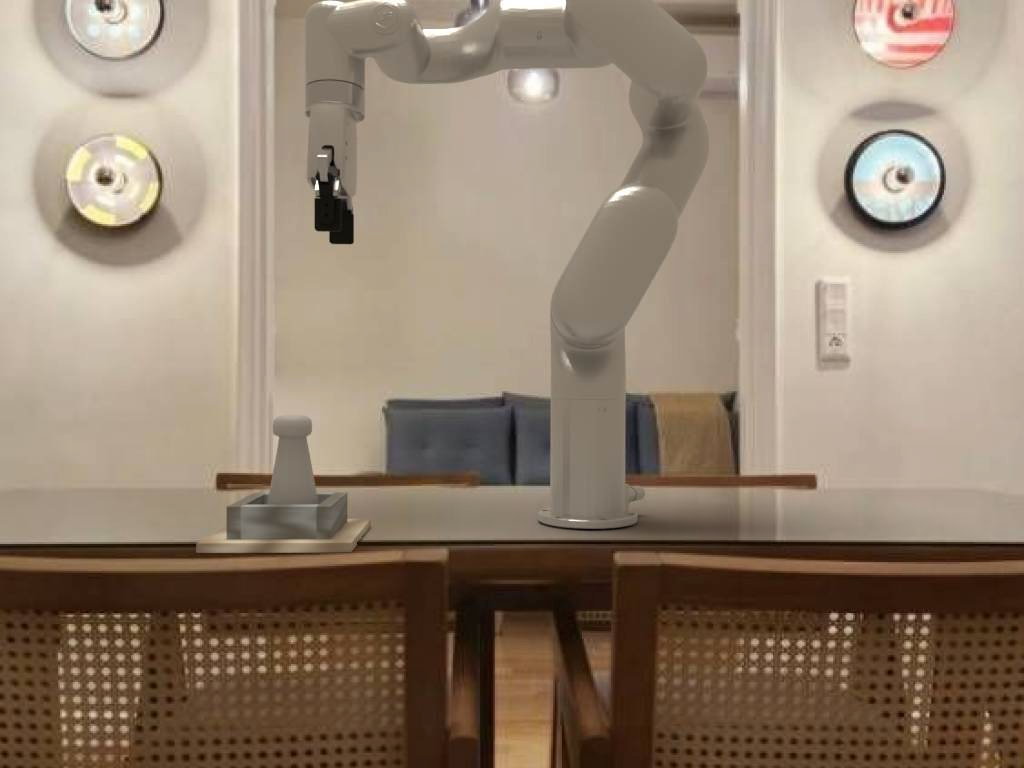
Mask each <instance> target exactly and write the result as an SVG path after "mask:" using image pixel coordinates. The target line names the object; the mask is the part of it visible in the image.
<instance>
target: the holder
mask: <svg viewBox="0 0 1024 768" xmlns="http://www.w3.org/2000/svg"><path fill="white" fill-rule="evenodd" d="M268 496H269V492H254V493H251V494H249V495H247V496H246V497H244V498H242V499H239V500H238V501H235V502H232V503H231V504H229V505H227V506H226V526H224V527H222V528H221V529H218V530H217V531H216V532H214V533H212V534H210V535H208V536H207V537H205V538H203V539H201V540H200V541H198V542H196V545H195V546H196V547H195V553H196V554H245V553H246V554H256V553H258V554H259V553H260V554H262V553H263V554H264V553H265V554H266V553H269V554H270V553H271V554H272V553H273V554H274V553H275V554H276V553H277V554H278V553H280V554H281V553H283V554H285V553H288V554H291V553H295V554H297V553H299V554H301V553H304V554H305V553H319V554H320V553H352V552H353V551H354V549H355V548H356V547H357V546H358V544H357V542H358V541H359V540H360V538H361V537H362V536H363V535H364V534H365V533H366V534H367V533H368V531H369V530H370V528H371V527H372V525H371V523H372V521H371V518H348V492H347V491H346V492H345V491H344V492H335V491H334V492H330V491H329V492H317V497H318V502H319V504H281V505H267V501H268ZM366 534H365V535H366ZM365 535H364V536H365ZM364 536H363V537H364ZM360 541H361V540H360ZM360 541H359V542H360Z"/></svg>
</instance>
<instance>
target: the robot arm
mask: <svg viewBox="0 0 1024 768" xmlns="http://www.w3.org/2000/svg"><path fill="white" fill-rule="evenodd" d="M304 31H305V39H304V42H305V43H304V44H305V46H304V48H305V49H304V51H305V52H304V53H305V57H304V60H305V61H304V62H305V64H304V65H305V70H304V71H305V72H304V73H305V74H304V75H305V78H304V79H305V90H304V91H305V92H304V95H305V102H304V104H305V108H304V111H305V116H306V117H307V118H308V119H309V123H308V135H307V139H308V140H307V158H306V159H307V160H306V161H307V162H306V182H307V183H308V185H309V186H310V187H311V188H312V190H313V191H314V195H315V197H314V225H313V226H314V230H315V231H316V232H325V233H326V232H327V233H328V232H329V235H328V236H329V237H328V240H329V241H328V242H329V243H330V244H331V245H354V243H355V214H354V206H353V204H354V203H353V197H355V196H356V193H357V179H358V174H357V173H358V149H357V148H358V146H357V144H358V143H357V142H358V138H357V137H358V136H357V135H358V134H357V124H358V123H361V122H363V121H364V120H365V118H366V116H365V115H366V112H365V111H366V109H365V108H366V107H365V106H366V104H365V103H366V101H365V100H366V98H365V97H366V96H365V95H366V78H365V77H366V59H367V58H372V59H373V60H374V62H375V64H376V65H377V67H378V68H379V70H380V71H381V72H382V74H384V75H385V76H386V77H387V78H389V79H391V80H393V81H395V82H398V83H403V84H408V85H410V84H411V85H427V84H428V85H440V84H442V85H443V84H456V83H462V82H467V81H470V80H471V81H472V80H474V79H478V78H481V77H486V76H489V75H493V74H496V73H498V72H500V71H504V70H505V71H506V70H530V69H564V70H565V69H597V68H598V69H599V68H602V67H607V66H610V65H612V64H614V66H616V67H617V68H618V69H619V70H620V71H621V72H622V73H623V74H625V75H626V76H627V77H628V78H629V79H630V80H631V81H630V82H631V83H630V86H629V92H628V102H629V107H630V111H631V113H632V115H633V117H634V119H635V121H636V122H637V124H638V127H639V128H640V131H641V134H642V143H641V147H640V148H639V151H638V153H637V154H636V156H635V158H634V159H633V162H632V163H631V165H630V168H629V170H628V172H627V174H626V175H625V176H624V179H623V180H622V182H621V184H620V186H619V187H617V188H615V190H613V191H612V192H611V193H609V194H608V195H607V196H606V197H605V199H604V200H603V201H602V203H601V205H599V208H598V210H596V212H595V214H594V216H593V218H592V219H591V221H590V224H589V225H588V227H587V229H586V231H585V233H584V234H583V236H582V238H581V239H580V241H579V244H578V245H577V247H576V249H575V250H574V252H573V253H572V255H571V257H570V260H569V261H568V263H567V264H566V266H565V268H564V269H563V271H562V273H561V275H560V277H559V279H558V281H557V282H556V284H555V286H554V289H553V290H552V291H553V292H552V295H551V299H550V300H551V301H550V311H549V318H550V319H549V327H550V331H549V332H550V446H549V447H550V450H549V451H550V456H549V457H550V467H549V468H550V469H549V471H550V473H549V476H550V477H549V478H550V479H549V480H550V482H549V483H550V485H549V487H550V490H549V491H550V493H549V495H550V496H549V497H550V498H549V499H550V500H549V503H550V505H549V507H545V508H542V509H540V510H539V511H538V512H537V519H538V521H539V522H540V523H542V524H544V525H547V526H553V527H559V528H567V529H582V530H583V529H586V530H587V529H588V530H595V529H596V530H598V529H599V530H600V529H601V530H603V529H604V530H605V529H615V528H616V529H617V528H624V527H625V528H626V527H629V526H633V525H635V524H637V522H638V513H637V512H636V511H635V510H633V509H630V508H629V504H630V503H631V502H637V501H641V500H643V499H644V498H645V496H646V492H645V489H644V488H643V487H642V486H641V485H634V486H630V485H629V483H626V406H627V405H626V400H627V378H626V377H627V371H626V370H627V369H626V368H627V367H626V366H627V365H626V335H625V334H626V332H625V331H626V327H627V325H628V324H629V322H630V320H631V318H632V317H633V315H634V313H635V312H636V310H637V308H638V306H639V305H640V303H641V301H642V300H643V298H644V296H645V295H646V293H647V291H648V289H649V288H650V286H651V284H652V282H653V280H654V279H655V278H656V275H657V273H658V272H659V270H660V268H661V266H662V265H663V263H664V261H665V259H666V257H667V256H668V255H669V252H670V250H671V248H672V246H673V244H674V242H675V240H676V237H677V235H678V229H679V218H680V217H681V215H682V214H683V212H684V210H685V209H686V206H687V205H688V202H689V200H690V198H691V196H692V194H693V193H694V190H695V188H696V187H697V185H698V183H699V180H700V179H701V177H702V175H703V172H704V170H705V167H706V164H707V162H708V158H709V152H710V137H709V131H708V125H707V122H706V119H705V116H704V115H703V113H702V110H701V108H700V106H699V104H698V102H697V101H698V98H699V97H700V95H701V93H702V91H703V89H704V87H705V85H706V80H707V76H708V62H707V57H706V54H705V51H704V49H703V47H702V46H701V45H700V43H699V42H698V40H697V38H696V37H694V35H692V33H691V32H689V31H688V30H687V29H686V28H685V27H684V26H683V25H682V24H681V23H679V22H678V21H677V20H676V19H674V18H673V16H671V15H670V14H669V13H668V12H667V11H665V9H663V8H662V7H661V6H660V4H659V5H658V3H657V2H655V1H654V0H496V1H495V2H494V3H493V4H492V5H491V6H490V7H489V8H488V9H487V10H486V11H485V12H484V13H483V14H482V15H480V17H479V18H477V19H476V20H474V21H472V22H469V23H467V24H465V25H461V26H458V27H451V28H437V29H436V28H428V29H427V28H423V25H422V23H421V20H420V18H419V15H418V12H417V10H416V9H415V7H414V5H413V4H412V2H411V1H409V0H352V1H346V2H344V1H339V0H323V1H318V2H315V3H314V4H312V5H310V7H309V8H308V9H307V12H306V14H305V29H304Z"/></svg>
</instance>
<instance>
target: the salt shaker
mask: <svg viewBox="0 0 1024 768" xmlns="http://www.w3.org/2000/svg"><path fill="white" fill-rule="evenodd" d="M312 432H313V422H312V419H311V417H309V416H306V415H302V414H284V415H278V416H276V417H275V418H274V419H273V423H272V433H273V435H274V436H276V437H278V442H277V447H276V448H277V449H276V455H275V460H274V466H273V471H272V475H271V480H270V485H269V491H268V493H269V496H268V501H267V505H281V504H319V502H318V497H317V493H318V492H317V488H316V487H317V486H316V481H315V475H314V471H313V467H312V460H311V454H310V449H309V448H310V447H309V443H308V439H307V438H308V437H309V436H310V435H312Z"/></svg>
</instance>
